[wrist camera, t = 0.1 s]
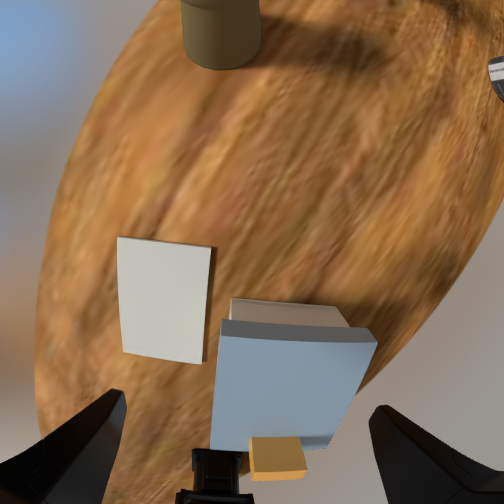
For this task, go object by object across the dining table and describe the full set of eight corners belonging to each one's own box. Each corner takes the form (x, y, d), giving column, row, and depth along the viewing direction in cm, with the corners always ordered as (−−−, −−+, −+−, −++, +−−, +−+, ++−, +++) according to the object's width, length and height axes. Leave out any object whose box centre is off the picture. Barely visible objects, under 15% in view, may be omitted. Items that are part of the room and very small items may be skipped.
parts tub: (306, 396, 27) (319, 438, 21) (220, 393, 26) (218, 438, 20) (335, 306, 24) (361, 344, 18) (231, 297, 23) (231, 339, 17)
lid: (321, 433, 22) (335, 478, 17) (210, 432, 21) (208, 482, 16) (366, 327, 19) (402, 374, 14) (221, 318, 18) (218, 375, 12)
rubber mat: (201, 361, 24) (201, 364, 24) (124, 349, 24) (123, 351, 23) (211, 246, 21) (211, 248, 21) (119, 236, 21) (117, 237, 20)
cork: (255, 6, 16) (271, -84, 5) (268, 64, 18) (299, -17, 7) (180, 17, 16) (148, -68, 5) (188, 77, 18) (149, 3, 7)
